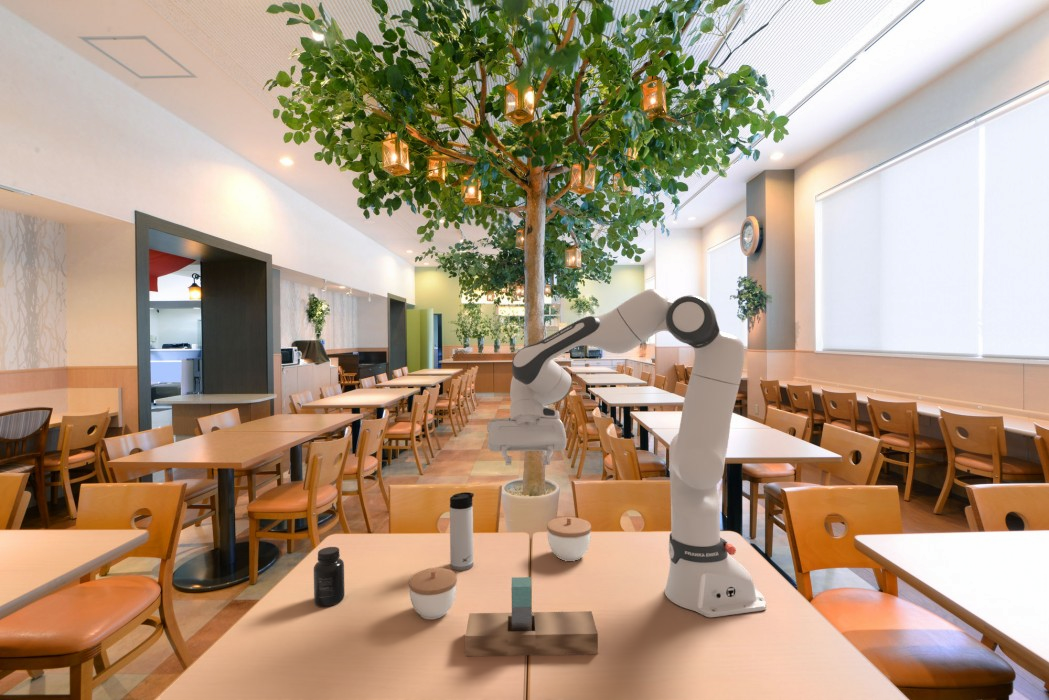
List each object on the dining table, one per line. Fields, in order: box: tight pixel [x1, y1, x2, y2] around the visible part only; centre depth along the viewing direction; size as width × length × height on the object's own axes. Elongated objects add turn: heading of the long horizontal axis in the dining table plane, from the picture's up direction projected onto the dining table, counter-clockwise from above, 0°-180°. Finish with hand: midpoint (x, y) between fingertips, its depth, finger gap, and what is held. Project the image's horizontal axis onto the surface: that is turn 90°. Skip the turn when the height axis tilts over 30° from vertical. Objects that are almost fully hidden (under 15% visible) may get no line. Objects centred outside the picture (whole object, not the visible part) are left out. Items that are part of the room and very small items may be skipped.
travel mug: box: [449, 491, 475, 572], centre depth 134 cm, size 6×7×20 cm
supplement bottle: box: [313, 546, 346, 608], centre depth 117 cm, size 7×7×12 cm
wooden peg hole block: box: [464, 610, 599, 657], centre depth 100 cm, size 26×8×4 cm, turn 91°
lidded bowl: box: [546, 516, 592, 562], centre depth 140 cm, size 13×13×11 cm
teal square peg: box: [511, 576, 533, 631], centre depth 100 cm, size 4×4×12 cm
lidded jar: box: [408, 567, 458, 621], centre depth 111 cm, size 11×11×9 cm
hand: (527, 463), depth 121 cm, fingers open, 8 cm apart
